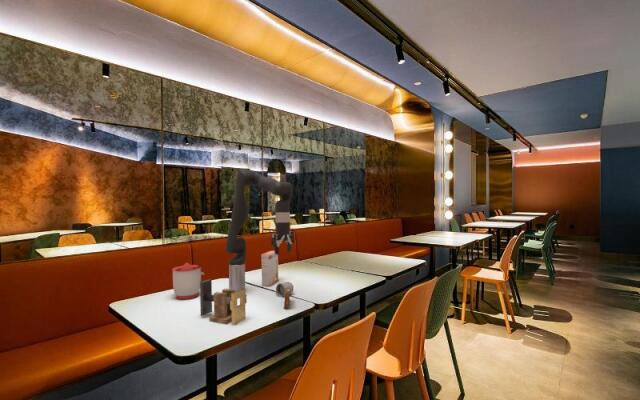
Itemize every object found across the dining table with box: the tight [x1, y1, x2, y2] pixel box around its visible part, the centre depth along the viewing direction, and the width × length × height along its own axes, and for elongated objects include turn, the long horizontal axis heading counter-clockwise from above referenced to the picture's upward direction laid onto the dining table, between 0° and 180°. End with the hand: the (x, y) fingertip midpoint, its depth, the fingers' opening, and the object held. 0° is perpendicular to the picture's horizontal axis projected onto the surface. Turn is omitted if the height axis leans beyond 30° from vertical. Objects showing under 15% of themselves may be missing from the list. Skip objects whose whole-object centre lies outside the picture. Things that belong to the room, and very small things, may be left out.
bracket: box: [208, 288, 235, 325], centre depth 149 cm, size 10×10×13 cm
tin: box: [283, 288, 291, 309], centre depth 167 cm, size 15×3×8 cm, turn 5°
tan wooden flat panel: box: [230, 288, 248, 326], centre depth 146 cm, size 2×10×14 cm, turn 157°
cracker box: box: [260, 250, 279, 287], centre depth 209 cm, size 14×6×21 cm, turn 163°
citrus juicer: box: [172, 262, 205, 301], centre depth 184 cm, size 16×17×20 cm
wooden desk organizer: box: [199, 279, 232, 317], centre depth 150 cm, size 16×6×16 cm, turn 67°
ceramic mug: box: [275, 281, 295, 298], centre depth 185 cm, size 11×8×8 cm
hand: (283, 253), depth 160 cm, fingers open, 8 cm apart
